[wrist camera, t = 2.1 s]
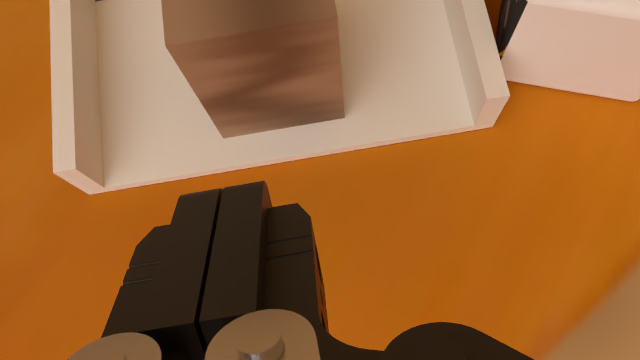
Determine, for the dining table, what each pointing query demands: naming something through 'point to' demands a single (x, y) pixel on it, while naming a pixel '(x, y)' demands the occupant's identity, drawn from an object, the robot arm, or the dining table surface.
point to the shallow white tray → (270, 146)
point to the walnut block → (258, 60)
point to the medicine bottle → (572, 45)
